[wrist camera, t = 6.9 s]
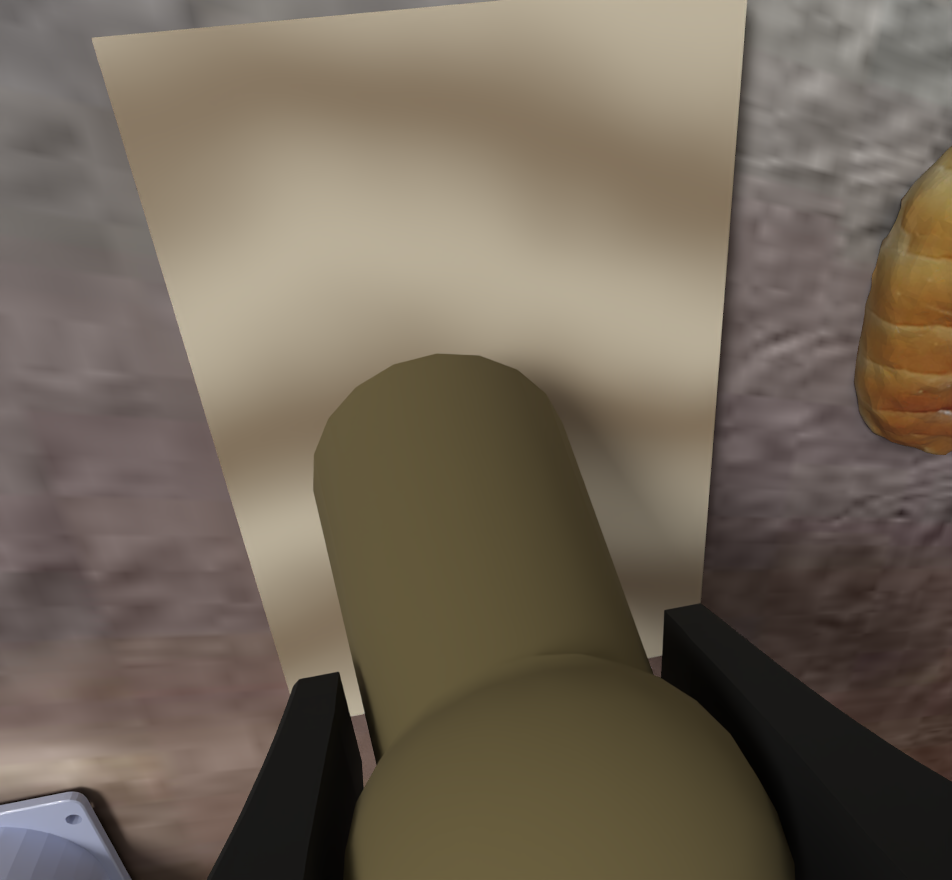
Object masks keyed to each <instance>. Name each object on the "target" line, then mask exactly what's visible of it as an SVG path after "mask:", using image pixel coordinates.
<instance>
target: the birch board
mask: <svg viewBox="0 0 952 880" xmlns="http://www.w3.org/2000/svg"><path fill="white" fill-rule="evenodd" d="M746 8H747V0H501V1H490V2H479V3H468V4H457V5H446V6H435V7H425V8H414V9H403V10H392V11H381V12H370V13H359V14H348V15H337V16H326V17H315V18H304V19H293V20H282V21H271V22H260V23H249V24H238V25H227V26H216V27H206V28H195V29H184V30H173V31H162V32H151V33H140V34H129V35H118V36H107V37H96V38H92V41H93V45H94V48H95V51H96V55H97V58H98V61H99V64H100V68H101V71H102V74H103V78H104V81H105V84H106V88H107V91H108V94H109V98H110V101H111V104H112V107H113V111H114V114H115V117H116V121H117V124H118V127H119V131H120V134H121V137H122V140H123V144H124V147H125V150H126V154H127V157H128V160H129V164H130V167H131V170H132V174H133V177H134V180H135V183H136V187H137V190H138V193H139V197H140V200H141V203H142V207H143V210H144V213H145V216H146V220H147V223H148V226H149V230H150V233H151V236H152V240H153V243H154V246H155V250H156V253H157V256H158V259H159V263H160V266H161V269H162V273H163V276H164V279H165V283H166V286H167V289H168V292H169V296H170V299H171V302H172V306H173V309H174V312H175V316H176V319H177V322H178V326H179V329H180V332H181V335H182V339H183V342H184V345H185V349H186V352H187V355H188V359H189V362H190V365H191V368H192V372H193V375H194V378H195V382H196V385H197V388H198V392H199V395H200V398H201V402H202V405H203V408H204V411H205V415H206V418H207V421H208V425H209V428H210V431H211V435H212V438H213V441H214V444H215V448H216V451H217V454H218V458H219V461H220V464H221V468H222V471H223V474H224V477H225V481H226V484H227V487H228V491H229V494H230V497H231V501H232V504H233V507H234V511H235V514H236V517H237V520H238V524H239V527H240V530H241V534H242V537H243V540H244V544H245V547H246V550H247V553H248V557H249V560H250V563H251V567H252V570H253V573H254V577H255V580H256V583H257V587H258V590H259V593H260V596H261V600H262V603H263V606H264V610H265V613H266V616H267V620H268V623H269V626H270V629H271V633H272V636H273V639H274V643H275V646H276V649H277V653H278V656H279V659H280V663H281V666H282V669H283V672H284V676H285V679H286V682H287V686H288V689H289V692H290V694H291V691H292V688H293V686H294V684H295V683H296V682H297V681H298V680H299V679H302V678H307V677H313V676H318V675H323V674H328V673H334V672H339V673H340V677H341V681H342V685H343V689H344V693H345V697H346V701H347V705H348V709H349V713H350V716H355V715H361V714H365V712H364V708H363V704H362V699H361V695H360V691H359V686H358V682H357V678H356V673H355V669H354V665H353V660H352V656H351V652H350V647H349V643H348V639H347V635H346V630H345V626H344V622H343V617H342V613H341V609H340V604H339V600H338V596H337V591H336V587H335V583H334V578H333V574H332V570H331V565H330V561H329V557H328V552H327V548H326V544H325V539H324V535H323V531H322V527H321V522H320V518H319V514H318V509H317V505H316V501H315V496H314V492H313V472H314V453H315V450H316V448H317V445H318V443H319V440H320V438H321V435H322V433H323V430H324V428H325V425H326V423H327V421H328V418H329V417H330V416H331V415H332V414H333V413H334V411H335V410H336V409H337V408H338V407H339V406H340V405H341V403H342V402H343V401H344V400H345V399H346V398H347V397H348V395H349V394H350V393H351V392H352V391H353V390H354V389H355V387H357V386H359V385H360V384H362V383H364V382H365V381H367V380H368V379H370V378H372V377H373V376H375V375H377V374H378V373H380V372H382V371H383V370H385V369H387V368H388V367H390V366H392V365H393V364H397V363H401V362H405V361H409V360H413V359H417V358H421V357H425V356H429V355H433V354H436V353H437V354H459V355H480V356H482V357H485V358H488V359H490V360H493V361H496V362H498V363H501V364H504V365H506V366H509V367H512V368H514V369H517V370H519V371H520V372H521V373H522V374H523V375H525V376H526V377H527V378H528V379H529V380H530V381H532V382H533V383H534V384H535V385H536V386H538V387H539V388H540V389H541V390H542V391H544V392H545V393H546V394H547V396H548V398H549V400H550V401H551V403H552V405H553V407H554V409H555V410H556V412H557V414H558V416H559V418H560V419H561V421H562V423H563V425H564V428H565V431H566V433H567V436H568V439H569V442H570V444H571V447H572V450H573V453H574V456H575V458H576V461H577V464H578V467H579V469H580V472H581V475H582V478H583V480H584V483H585V486H586V489H587V492H588V494H589V497H590V500H591V503H592V505H593V508H594V511H595V514H596V517H597V519H598V522H599V525H600V528H601V530H602V533H603V536H604V539H605V541H606V544H607V547H608V550H609V553H610V555H611V558H612V561H613V564H614V566H615V569H616V572H617V575H618V577H619V580H620V583H621V586H622V589H623V591H624V594H625V597H626V600H627V602H628V605H629V608H630V611H631V614H632V616H633V619H634V622H635V625H636V627H637V630H638V633H639V636H640V638H641V641H642V644H643V647H644V650H645V652H646V655H647V658H652V657H657V656H662V648H663V626H664V610H667V609H672V608H678V607H683V606H688V605H693V604H699V603H701V592H702V579H703V566H704V553H705V540H706V527H707V514H708V501H709V488H710V475H711V462H712V449H713V436H714V423H715V410H716V397H717V384H718V371H719V358H720V345H721V333H722V320H723V307H724V294H725V281H726V268H727V255H728V242H729V229H730V216H731V203H732V190H733V177H734V164H735V151H736V138H737V125H738V112H739V99H740V86H741V73H742V60H743V47H744V34H745V21H746Z"/></svg>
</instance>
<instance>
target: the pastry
mask: <svg viewBox="0 0 952 880" xmlns="http://www.w3.org/2000/svg"><path fill="white" fill-rule="evenodd" d="M854 384H855V389H856V393H857V397H858V404H859V412H860V414H861V416H862V418H863V420H864V421H865V423H866V424H867V425H868V426H869V428H870V429H871V430H872V432H873V433H875V434H876V435H879V436H882V437H884V438H886V439H888V440H889V441H891V442H894V443H897V444H900V445H904V446H910V447H915V448H917V449H920V450H922V451H924V452H927V453H931V454H936V455H946V454H947V453H949V452H951V451H952V146H951V147H950V148H949V149H948V150H947V151H946V152H945V153H944V154H943V155H942V156H941V157H940V158H939V159H938V160H937V161H936V162H935V163H934V164H933V165H932V166H931V167H930V168H929V169H928V170H927V171H926V172H925V173H924V174H923V175H922V176H921V177H920V178H919V179H918V180H917V181H916V182H915V183H914V184H913V185H912V187H911V188H910V189H909V190H908V192H907V193H906V195H905V196H904V197H903V198H902V199H901V209H900V211H899V214H898V217H897V219H896V222H895V224H894V226H893V228H892V229H891V231H890V233H889V234H888V236H887V237H886V238H885V239H884V240H883V241H882V244H881V248H880V252H879V256H878V260H877V264H876V268H875V270H874V272H873V274H872V286H871V291H870V294H869V296H868V299H867V302H866V306H865V315H864V322H863V327H862V332H861V337H860V341H859V346H858V353H857V359H856V368H855V378H854Z"/></svg>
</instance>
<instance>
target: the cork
mask: <svg viewBox="0 0 952 880" xmlns="http://www.w3.org/2000/svg"><path fill="white" fill-rule="evenodd" d="M313 492H314V496H315V501H316V505H317V509H318V514H319V518H320V522H321V527H322V531H323V535H324V539H325V544H326V548H327V552H328V557H329V561H330V565H331V570H332V574H333V578H334V583H335V587H336V591H337V596H338V600H339V604H340V609H341V613H342V617H343V622H344V626H345V630H346V635H347V639H348V643H349V647H350V652H351V656H352V660H353V665H354V669H355V673H356V678H357V682H358V686H359V691H360V695H361V699H362V704H363V708H364V712H365V717H366V721H367V725H368V730H369V734H370V738H371V742H372V747H373V751H374V755H375V760H376V764H377V766H376V768H375V769H374V771H373V773H372V775H371V777H370V778H369V780H368V782H367V784H366V786H365V787H364V789H363V791H362V793H361V795H360V796H359V798H358V800H357V802H356V805H355V809H354V814H353V818H352V823H351V827H350V832H349V836H348V841H347V845H346V850H345V858H344V875H343V880H795V864H794V861H793V858H792V855H791V852H790V849H789V846H788V843H787V840H786V837H785V834H784V831H783V828H782V825H781V822H780V819H779V816H778V813H777V811H776V809H775V807H774V805H773V804H772V802H771V800H770V798H769V797H768V795H767V793H766V791H765V789H764V788H763V786H762V784H761V782H760V781H759V779H758V777H757V776H756V774H755V772H754V771H753V769H752V768H751V766H750V764H749V763H748V761H747V760H746V758H745V756H744V755H743V753H742V752H741V750H740V749H739V747H738V745H737V744H736V742H735V741H734V739H733V737H732V736H731V734H730V733H729V732H728V731H727V730H726V729H725V728H724V727H723V726H722V725H721V724H720V723H719V722H718V721H717V720H716V719H715V718H714V717H713V716H711V715H710V714H709V713H708V712H707V711H706V710H705V709H704V708H703V707H702V706H701V705H700V704H699V703H698V702H697V701H696V700H695V699H693V698H692V697H690V696H688V695H687V694H685V693H684V692H682V691H680V690H679V689H677V688H676V687H674V686H673V685H671V684H669V683H668V682H666V681H665V680H663V679H661V678H660V677H657V676H655V675H654V674H653V672H652V669H651V666H650V663H649V661H648V658H647V655H646V652H645V650H644V647H643V644H642V641H641V638H640V636H639V633H638V630H637V627H636V625H635V622H634V619H633V616H632V614H631V611H630V608H629V605H628V602H627V600H626V597H625V594H624V591H623V589H622V586H621V583H620V580H619V577H618V575H617V572H616V569H615V566H614V564H613V561H612V558H611V555H610V553H609V550H608V547H607V544H606V541H605V539H604V536H603V533H602V530H601V528H600V525H599V522H598V519H597V517H596V514H595V511H594V508H593V505H592V503H591V500H590V497H589V494H588V492H587V489H586V486H585V483H584V480H583V478H582V475H581V472H580V469H579V467H578V464H577V461H576V458H575V456H574V453H573V450H572V447H571V444H570V442H569V439H568V436H567V433H566V431H565V428H564V425H563V423H562V421H561V419H560V418H559V416H558V414H557V412H556V410H555V409H554V407H553V405H552V403H551V401H550V400H549V398H548V396H547V394H546V393H545V392H544V391H542V390H541V389H540V388H539V387H538V386H536V385H535V384H534V383H533V382H532V381H530V380H529V379H528V378H527V377H526V376H525V375H523V374H522V373H521V372H520V371H519V370H517V369H514V368H512V367H509V366H506V365H504V364H501V363H498V362H496V361H493V360H490V359H488V358H485V357H482V356H480V355H459V354H437V353H436V354H433V355H429V356H425V357H421V358H417V359H413V360H409V361H405V362H401V363H397V364H393V365H392V366H390V367H388V368H387V369H385V370H383V371H382V372H380V373H378V374H377V375H375V376H373V377H372V378H370V379H368V380H367V381H365V382H364V383H362V384H360V385H359V386H357V387H355V389H354V390H353V391H352V392H351V393H350V394H349V395H348V397H347V398H346V399H345V400H344V401H343V402H342V403H341V405H340V406H339V407H338V408H337V409H336V410H335V411H334V413H333V414H332V415H331V416H330V417H329V418H328V421H327V423H326V425H325V428H324V430H323V433H322V435H321V438H320V440H319V443H318V445H317V448H316V450H315V453H314V472H313Z"/></svg>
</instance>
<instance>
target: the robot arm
mask: <svg viewBox="0 0 952 880" xmlns="http://www.w3.org/2000/svg"><path fill="white" fill-rule="evenodd" d="M661 679H663V680H665V681H666V682H668V683H669V684H671V685H673V686H674V687H676V688H677V689H679V690H680V691H682V692H684V693H685V694H687V695H688V696H690V697H692V698H693V699H695V700H696V701H697V702H698V703H699V704H700V705H701V706H702V707H703V708H704V709H705V710H706V711H707V712H708V713H709V714H710V715H711V716H713V717H714V718H715V719H716V720H717V721H718V722H719V723H720V724H721V725H722V726H723V727H724V728H725V729H726V730H727V731H728V732H729V733H730V734H731V736H732V737H733V739H734V741H735V742H736V744H737V745H738V747H739V749H740V750H741V752H742V753H743V755H744V756H745V758H746V760H747V761H748V763H749V764H750V766H751V768H752V769H753V771H754V772H755V774H756V776H757V777H758V779H759V781H760V782H761V784H762V786H763V788H764V789H765V791H766V793H767V795H768V797H769V798H770V800H771V802H772V804H773V805H774V807H775V809H776V811H777V813H778V816H779V819H780V822H781V825H782V828H783V831H784V834H785V837H786V840H787V843H788V846H789V849H790V852H791V855H792V858H793V861H794V864H795V880H952V782H951V781H949V780H948V779H946V778H944V777H943V776H941V775H939V774H938V773H936V772H934V771H933V770H931V769H929V768H928V767H926V766H924V765H922V764H921V763H919V762H918V761H916V760H914V759H913V758H911V757H910V756H908V755H906V754H905V753H903V752H902V751H900V750H898V749H897V748H895V747H894V746H892V745H891V744H889V743H888V742H886V741H885V740H883V739H882V738H880V737H879V736H877V735H876V734H874V733H873V732H871V731H870V730H868V729H867V728H865V727H864V726H862V725H861V724H859V723H858V722H856V721H855V720H853V719H852V718H850V717H849V716H848V715H846V714H845V713H843V712H842V711H841V710H839V709H838V708H836V707H835V706H834V705H832V704H831V703H829V702H828V701H827V700H825V699H824V698H823V697H821V696H820V695H818V694H817V693H816V692H814V691H813V690H812V689H810V688H809V687H808V686H806V685H805V684H804V683H802V682H801V681H800V680H798V679H797V678H795V677H794V676H793V675H791V674H790V673H789V672H788V671H786V670H785V669H784V668H782V667H781V666H780V665H778V664H777V663H776V662H774V661H773V660H772V659H771V658H769V657H768V656H767V655H766V654H764V653H763V652H762V651H760V650H759V649H758V648H757V647H755V646H754V645H753V644H751V643H750V642H749V641H748V640H746V639H745V638H744V637H743V636H741V635H740V634H739V633H738V632H736V631H735V630H734V629H733V628H731V627H730V626H729V625H728V624H726V623H725V622H724V621H723V620H721V619H720V618H719V617H718V616H716V615H715V614H714V613H712V612H711V611H710V610H709V609H707V608H706V607H705V606H703V605H702V604H701V603H699V604H693V605H688V606H683V607H678V608H672V609H667V610H664V626H663V648H662V670H661ZM362 791H363V773H362V760H361V756H360V752H359V748H358V744H357V740H356V736H355V733H354V729H353V725H352V721H351V717H350V713H349V709H348V705H347V701H346V697H345V693H344V689H343V685H342V681H341V677H340V673H339V672H334V673H328V674H323V675H318V676H313V677H307V678H302V679H299V680H298V681H297V682H296V683H295V684H294V686H293V688H292V691H291V694H290V697H289V700H288V703H287V706H286V708H285V711H284V714H283V716H282V719H281V722H280V724H279V727H278V729H277V732H276V734H275V737H274V739H273V742H272V744H271V747H270V749H269V751H268V754H267V756H266V759H265V761H264V763H263V766H262V768H261V770H260V772H259V774H258V777H257V779H256V781H255V783H254V785H253V788H252V790H251V792H250V794H249V796H248V798H247V801H246V803H245V805H244V807H243V809H242V812H241V814H240V816H239V818H238V820H237V822H236V824H235V826H234V828H233V830H232V832H231V834H230V836H229V838H228V840H227V842H226V843H225V845H224V847H223V849H222V851H221V853H220V855H219V857H218V859H217V861H216V863H215V865H214V867H213V869H212V871H211V872H210V874H209V876H208V878H207V880H343V875H344V858H345V850H346V845H347V841H348V836H349V832H350V827H351V823H352V818H353V814H354V809H355V805H356V802H357V800H358V798H359V796H360V795H361V793H362ZM0 880H131V878H130V876H129V874H128V872H127V871H126V869H125V867H124V865H123V863H122V861H121V860H120V858H119V856H118V854H117V852H116V850H115V849H114V847H113V845H112V843H111V841H110V840H109V838H108V836H107V834H106V832H105V830H104V829H103V827H102V825H101V823H100V821H99V819H98V818H97V816H96V814H95V812H94V810H93V808H92V807H91V805H90V803H89V801H88V799H87V798H86V797H85V796H84V795H83V794H81V793H79V792H74V791H72V792H64V793H59V794H54V795H49V796H44V797H39V798H34V799H29V800H24V801H19V802H14V803H9V804H4V805H0Z"/></svg>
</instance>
